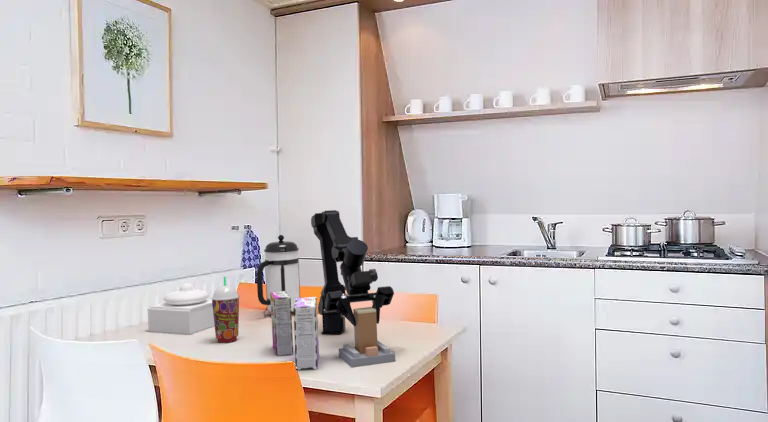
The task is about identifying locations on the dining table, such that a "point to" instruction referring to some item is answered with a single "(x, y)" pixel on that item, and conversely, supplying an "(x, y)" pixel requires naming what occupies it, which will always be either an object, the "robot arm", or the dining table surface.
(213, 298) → the smoothie
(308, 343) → the candy box
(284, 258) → the coffee press
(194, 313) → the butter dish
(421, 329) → the dining table surface
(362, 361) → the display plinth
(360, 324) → the cream-topped square box
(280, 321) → the candy bar box
